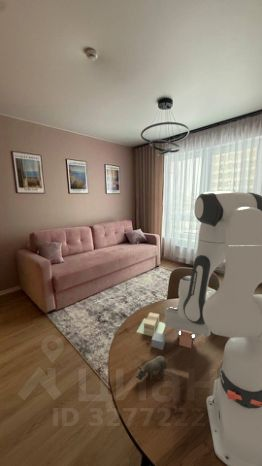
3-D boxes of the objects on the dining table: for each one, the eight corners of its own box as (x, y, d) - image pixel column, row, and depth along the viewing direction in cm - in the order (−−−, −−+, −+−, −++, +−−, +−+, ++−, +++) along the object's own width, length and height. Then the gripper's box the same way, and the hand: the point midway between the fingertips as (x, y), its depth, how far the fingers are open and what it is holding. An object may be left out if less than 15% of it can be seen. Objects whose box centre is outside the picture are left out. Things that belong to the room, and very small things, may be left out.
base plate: (160, 340, 94) (160, 338, 94) (136, 334, 98) (136, 332, 98) (166, 325, 105) (166, 323, 105) (144, 320, 109) (144, 318, 109)
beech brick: (153, 335, 96) (154, 325, 95) (143, 332, 98) (144, 323, 97) (159, 322, 105) (159, 314, 104) (149, 320, 107) (150, 312, 106)
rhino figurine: (132, 378, 75) (132, 364, 74) (162, 363, 81) (162, 350, 80) (137, 387, 71) (137, 373, 70) (168, 371, 78) (169, 358, 77)
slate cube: (162, 352, 87) (163, 342, 86) (151, 349, 89) (151, 339, 88) (165, 344, 92) (165, 334, 91) (154, 341, 93) (154, 332, 92)
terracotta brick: (190, 350, 88) (191, 340, 87) (179, 347, 90) (179, 337, 89) (192, 335, 97) (193, 326, 96) (181, 333, 99) (182, 324, 98)
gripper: (163, 309, 91) (162, 336, 94) (211, 319, 84) (209, 348, 87) (166, 302, 97) (165, 328, 100) (212, 311, 90) (209, 339, 92)
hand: (186, 337), depth 93 cm, fingers closed on terracotta brick, 5 cm apart
